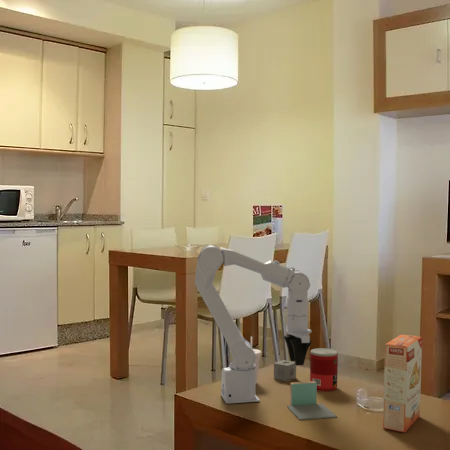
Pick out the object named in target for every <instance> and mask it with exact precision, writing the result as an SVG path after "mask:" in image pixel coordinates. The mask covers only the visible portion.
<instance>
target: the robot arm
mask: <svg viewBox="0 0 450 450" xmlns="http://www.w3.org/2000/svg"><path fill="white" fill-rule="evenodd" d="M196 259H197V260H196V266H195V267H196V269H195V277H194V284H195V287H196V289H197V291H198V293H199V295H200V296H201V298H202V300H203V302H204V304H205V305H206V307H207V309H208V310H209V313H210V315H211V316H212V318H213V319H214V321H215V324H216V325H217V327H218V329H219V330H220V332H221V335H222V336H223V338H224V340H225V342H226V344H227V346H228V348H229V350H230V354H231V356H232V357H231V358H232V361H231V362H230V363H229V366H227V367H223V368H222V369H221V372H220V373H221V376H220V377H221V378H220V379H221V380H220V387H221V388H220V396H221V398H222V399H223V401H224V403H225V404H240V403H256V402H260V401H261V399H260V398H259V397H258V396H257V395H256V384H257V383H256V365H255V364H254V363H255V359H256V356H255V353H254V351H253V349H254V348H253V344H252V345H251V342H249V341H248V340H247V339H246V338H245V337H244V336H243V333H241V331H240V330H239V327H238V326H237V324H236V322H235V320H234V319H233V317H232V315H231V313H230V312H229V309H228V308H227V306H226V304H225V302H224V301H223V299H222V297H221V295H220V294H219V291H218V290H217V288H216V286H215V284H214V283H213V282H214V280H215V276H216V272H217V271H218V270H219V269H220V267H221V266H222V264H223V266H224V267H227V266H233V265H235V266H238V267H241V268H243V269H246V270H249V271H253V272H255V273H258V274H260V276H261V278H262V280H263V281H265V282H268V283H271V284H273V285H276V286H277V287H281V288H285V289H286V288H287V301H286V302H287V303H286V304H287V306H286V311H287V312H286V325H285V332H286V335H283V339H284V341H285V343H286V347H287V351H288V355H289V361H291V362H295V364H296V366H304V364H305V360H306V357H307V352H308V350H309V348H310V346H311V344H312V341H311V339H310V338H311V336H310V335H309V334H312V329H310V328H308V326H309V324H308V322H309V321H308V320H309V319H308V318H309V315H308V314H309V311H308V310H309V297H308V295H309V294H308V293H309V292H308V291H309V289H311V283H310V278H309V277H308V276H307V274H305V273H303V272H301V271H300V270H298V269H297V270H296V268H294V267H292V266H291V268H290V267H288V266H285V265H282V264H280V261H278V260H276V259H274V261H273V260H269V261H267V262H262V261H260V260H257V259H255V258H253V257H251V256H248V255H245V254H244V253H240V252H238V251H236V250H233V249H229V248H227V247H222V246H220V248H219V246H217V245H215V244H207V245H204V247H202V248H201V250H200V253H199V255H198V257H197V258H196ZM255 383H256V384H255Z"/></svg>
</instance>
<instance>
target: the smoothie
mask: <svg viewBox="0 0 450 450" xmlns="http://www.w3.org/2000/svg"><path fill="white" fill-rule="evenodd" d="M250 344H251V345H252V346H253V336H250ZM253 351H254V353H255V356H256V359H255V363H254V364H255V365H256V383H255V385H257V383H258V375H259V368H260V362H261V361H260V360H261V356H262V351H261V350H259V349H257V348H253Z"/></svg>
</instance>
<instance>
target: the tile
mask: <svg viewBox="0 0 450 450" xmlns="http://www.w3.org/2000/svg"><path fill="white" fill-rule="evenodd" d="M289 393H290V394H289V406H295V405H310V404H317V399H318V398H317V393H318V392H317V383H316V382H315V381H310V380H309V381H296V382H289Z"/></svg>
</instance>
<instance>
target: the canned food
mask: <svg viewBox="0 0 450 450" xmlns="http://www.w3.org/2000/svg"><path fill="white" fill-rule="evenodd" d="M309 358H310V360H309V365H310V366H309V369H310V370H309V372H310V373H309V376H310V377H309V382H310V381H315V382H316V383H317V391H318V392H333V391H336V390H337V388H338V365H339V364H338V362H339V361H338V359H339V355H338V351H337V350H335V349H332V348H323V347H320V348H319V347H318V348H313V349H311V350H310V357H309Z"/></svg>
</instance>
